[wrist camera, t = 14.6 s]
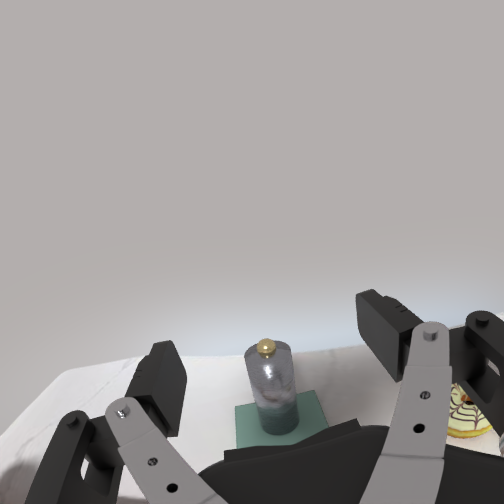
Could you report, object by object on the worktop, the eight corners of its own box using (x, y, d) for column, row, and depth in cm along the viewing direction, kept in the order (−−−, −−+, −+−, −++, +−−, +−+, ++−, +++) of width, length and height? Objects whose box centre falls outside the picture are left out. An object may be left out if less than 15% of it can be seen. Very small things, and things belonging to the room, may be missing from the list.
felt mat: (314, 392, 35) (313, 389, 35) (337, 450, 24) (337, 448, 24) (235, 409, 35) (234, 406, 35) (239, 471, 24) (237, 468, 24)
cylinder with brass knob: (295, 405, 33) (284, 324, 30) (303, 430, 28) (293, 347, 25) (258, 412, 33) (240, 333, 30) (263, 438, 28) (242, 357, 25)
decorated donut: (457, 374, 29) (463, 353, 28) (511, 404, 19) (521, 382, 18) (410, 414, 26) (415, 394, 25) (469, 458, 16) (480, 438, 15)
